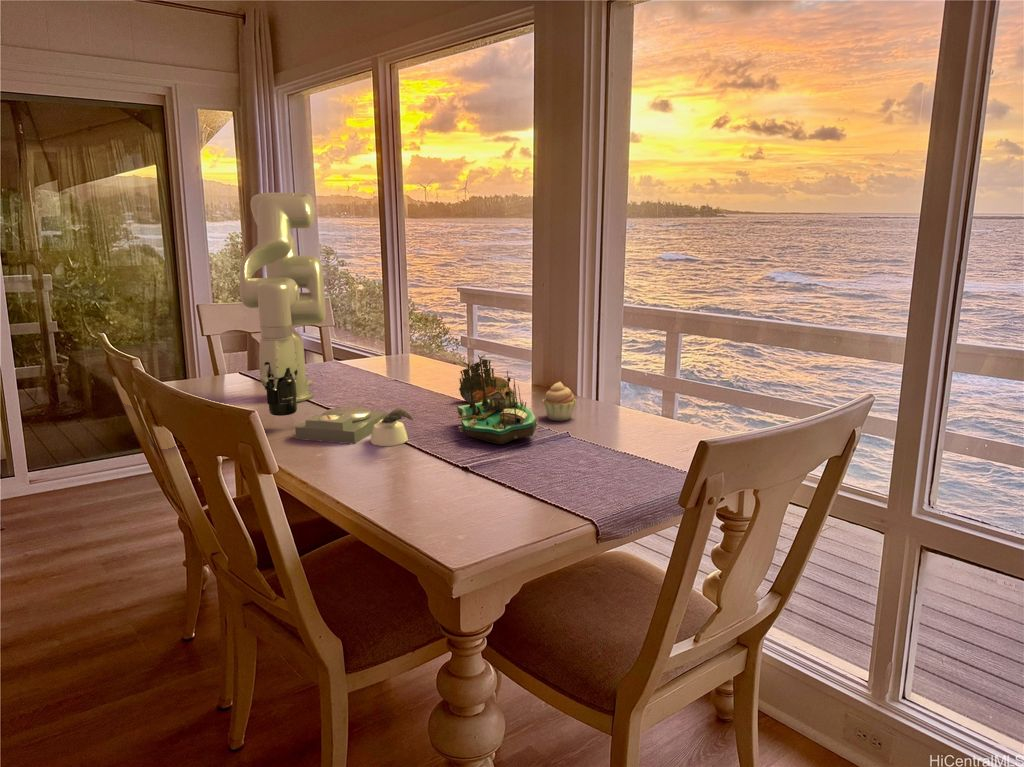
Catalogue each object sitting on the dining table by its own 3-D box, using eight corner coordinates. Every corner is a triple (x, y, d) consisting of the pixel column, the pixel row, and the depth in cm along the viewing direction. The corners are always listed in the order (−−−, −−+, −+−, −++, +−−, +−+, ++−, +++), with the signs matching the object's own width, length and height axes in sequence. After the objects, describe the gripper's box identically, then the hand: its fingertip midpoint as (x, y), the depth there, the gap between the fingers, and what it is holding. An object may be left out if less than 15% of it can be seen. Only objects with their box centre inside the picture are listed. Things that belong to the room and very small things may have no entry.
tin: (459, 402, 211) (459, 374, 209) (464, 400, 213) (463, 372, 212) (507, 407, 205) (507, 378, 203) (511, 404, 208) (511, 376, 206)
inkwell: (397, 432, 181) (395, 394, 179) (434, 450, 168) (432, 409, 165) (363, 439, 176) (361, 400, 174) (399, 458, 162) (397, 415, 160)
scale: (332, 419, 194) (331, 399, 193) (387, 423, 190) (386, 403, 189) (296, 438, 177) (294, 417, 176) (354, 443, 173) (353, 421, 172)
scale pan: (337, 408, 192) (337, 405, 192) (378, 411, 189) (378, 407, 189) (314, 420, 181) (313, 416, 181) (357, 424, 178) (357, 420, 178)
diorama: (504, 414, 195) (497, 346, 190) (553, 439, 174) (546, 363, 168) (440, 431, 187) (431, 360, 182) (483, 460, 166) (474, 380, 160)
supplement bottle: (289, 417, 181) (285, 370, 178) (264, 415, 182) (260, 369, 179) (302, 409, 187) (298, 364, 184) (278, 407, 188) (274, 363, 185)
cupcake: (583, 417, 194) (584, 381, 191) (561, 424, 187) (562, 387, 185) (557, 411, 200) (557, 376, 198) (534, 418, 193) (534, 382, 191)
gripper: (282, 325, 188) (288, 390, 193) (242, 337, 172) (249, 409, 177) (308, 326, 186) (313, 392, 191) (269, 339, 170) (275, 411, 175)
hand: (282, 400), depth 184 cm, fingers closed on supplement bottle, 6 cm apart
